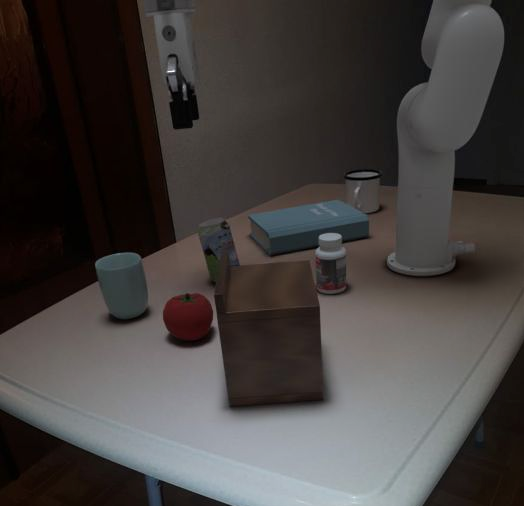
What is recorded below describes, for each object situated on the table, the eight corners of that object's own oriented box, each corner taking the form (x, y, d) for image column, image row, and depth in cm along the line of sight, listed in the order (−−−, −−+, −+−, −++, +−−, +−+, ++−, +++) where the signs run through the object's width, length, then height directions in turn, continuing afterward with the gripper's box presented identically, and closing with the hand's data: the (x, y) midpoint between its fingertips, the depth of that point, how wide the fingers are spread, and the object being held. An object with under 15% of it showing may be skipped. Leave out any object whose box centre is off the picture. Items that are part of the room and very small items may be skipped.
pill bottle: (310, 290, 100) (308, 238, 95) (327, 280, 104) (326, 229, 99) (335, 297, 97) (334, 243, 92) (352, 286, 100) (352, 233, 96)
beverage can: (238, 287, 105) (230, 224, 99) (200, 287, 106) (191, 225, 100) (245, 274, 110) (239, 214, 104) (210, 274, 111) (201, 215, 106)
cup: (113, 328, 94) (100, 272, 89) (103, 312, 100) (89, 259, 95) (157, 315, 96) (147, 261, 92) (144, 300, 103) (134, 249, 98)
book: (338, 220, 136) (338, 199, 133) (368, 238, 122) (369, 216, 120) (250, 236, 131) (248, 215, 128) (271, 257, 117) (269, 234, 115)
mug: (348, 204, 147) (348, 169, 143) (384, 204, 144) (385, 168, 139) (337, 217, 138) (336, 180, 133) (375, 218, 134) (375, 180, 130)
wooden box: (313, 342, 84) (308, 243, 76) (323, 399, 70) (319, 286, 63) (233, 348, 84) (221, 250, 76) (229, 406, 71) (213, 294, 63)
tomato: (214, 320, 93) (208, 280, 89) (218, 343, 86) (212, 300, 82) (166, 328, 92) (158, 287, 89) (166, 351, 85) (158, 308, 82)
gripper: (187, -2, 77) (204, 129, 85) (199, 4, 92) (213, 115, 100) (133, 4, 77) (156, 134, 85) (154, 9, 92) (172, 119, 100)
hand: (187, 124), depth 93 cm, fingers open, 9 cm apart
